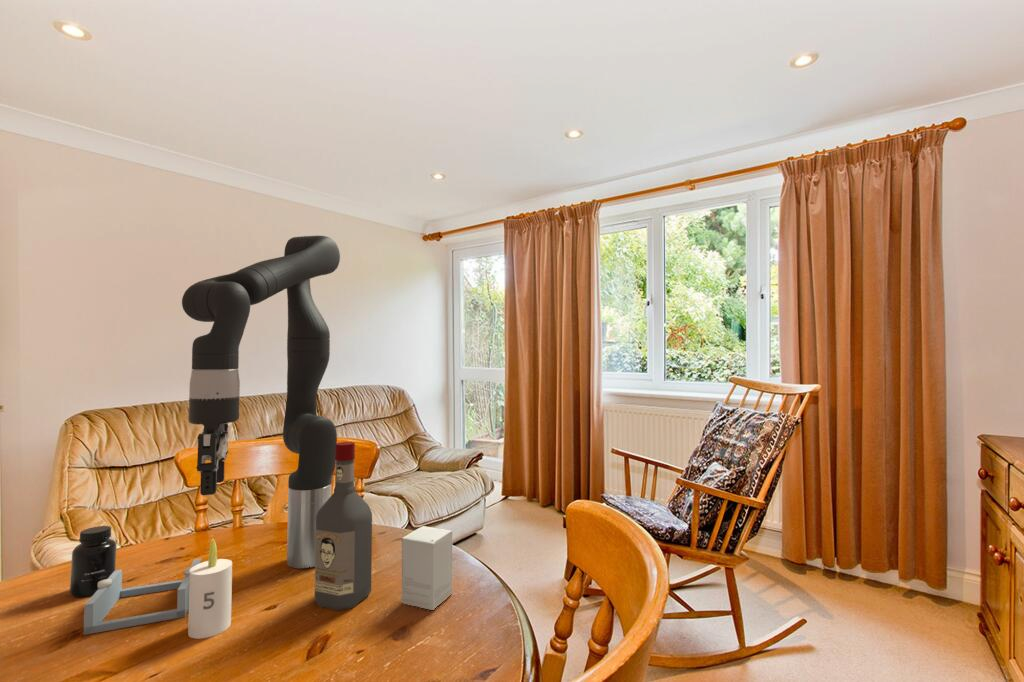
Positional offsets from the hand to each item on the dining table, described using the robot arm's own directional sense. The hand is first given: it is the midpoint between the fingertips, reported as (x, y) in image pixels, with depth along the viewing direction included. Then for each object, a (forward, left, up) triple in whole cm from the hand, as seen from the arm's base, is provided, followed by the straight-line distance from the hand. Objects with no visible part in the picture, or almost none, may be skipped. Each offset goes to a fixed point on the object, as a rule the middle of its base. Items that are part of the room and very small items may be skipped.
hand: (212, 487), depth 84 cm
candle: (0, 0, -24) cm, 24 cm away
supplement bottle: (+24, -25, -24) cm, 42 cm away
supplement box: (-37, +5, -24) cm, 45 cm away
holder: (+12, -13, -24) cm, 30 cm away
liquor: (-22, -2, -24) cm, 33 cm away
